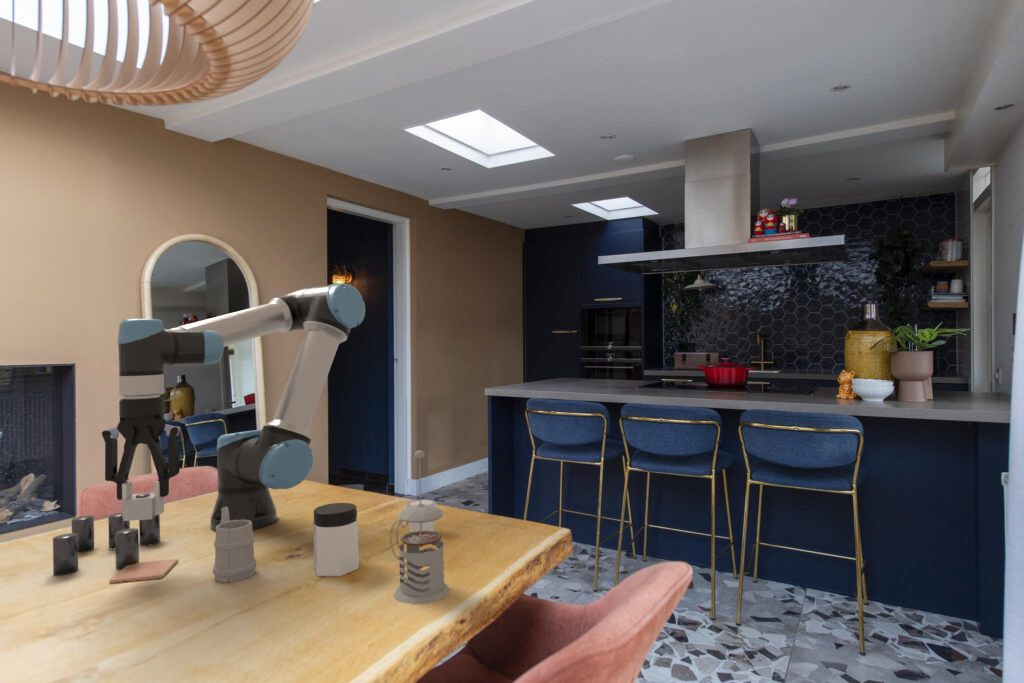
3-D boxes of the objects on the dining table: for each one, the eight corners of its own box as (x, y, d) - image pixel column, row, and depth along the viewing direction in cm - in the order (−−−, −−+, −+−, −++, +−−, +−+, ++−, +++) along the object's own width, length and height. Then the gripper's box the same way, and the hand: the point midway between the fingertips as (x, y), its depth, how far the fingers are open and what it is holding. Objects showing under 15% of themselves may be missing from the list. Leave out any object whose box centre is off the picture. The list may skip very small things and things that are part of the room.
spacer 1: (82, 566, 120) (81, 532, 120) (72, 574, 116) (71, 538, 116) (59, 568, 119) (59, 534, 119) (49, 576, 115) (48, 540, 115)
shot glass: (401, 535, 135) (400, 505, 135) (417, 527, 142) (416, 497, 142) (427, 538, 133) (427, 507, 133) (442, 529, 139) (441, 500, 139)
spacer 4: (142, 561, 123) (141, 527, 123) (134, 568, 119) (133, 533, 119) (120, 563, 122) (120, 529, 122) (112, 570, 118) (111, 535, 118)
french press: (425, 608, 97) (422, 457, 97) (374, 594, 103) (371, 452, 104) (461, 587, 106) (458, 447, 106) (412, 575, 112) (409, 443, 112)
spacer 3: (133, 542, 135) (132, 511, 135) (125, 547, 131) (125, 516, 131) (113, 543, 134) (113, 513, 134) (105, 549, 130) (105, 518, 130)
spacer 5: (162, 539, 137) (162, 508, 137) (156, 544, 133) (155, 513, 133) (143, 540, 136) (143, 510, 136) (136, 546, 132) (136, 515, 132)
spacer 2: (97, 545, 133) (97, 514, 133) (89, 551, 129) (88, 519, 129) (77, 547, 132) (77, 516, 132) (68, 553, 128) (67, 521, 128)
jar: (362, 572, 114) (361, 510, 114) (318, 580, 110) (317, 516, 110) (353, 558, 122) (352, 500, 122) (312, 565, 118) (310, 505, 118)
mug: (219, 586, 108) (218, 521, 108) (202, 569, 117) (201, 509, 117) (262, 575, 113) (261, 513, 114) (242, 559, 122) (241, 501, 122)
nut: (161, 512, 119) (161, 491, 119) (152, 519, 114) (151, 497, 114) (134, 513, 118) (134, 492, 118) (123, 521, 113) (123, 498, 113)
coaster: (177, 561, 122) (177, 558, 122) (162, 578, 113) (162, 575, 113) (129, 566, 120) (129, 563, 120) (109, 583, 111) (109, 580, 111)
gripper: (197, 393, 122) (199, 505, 122) (99, 397, 118) (100, 513, 118) (185, 396, 115) (187, 515, 115) (80, 400, 111) (82, 523, 111)
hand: (143, 514), depth 116 cm, fingers closed on nut, 5 cm apart
